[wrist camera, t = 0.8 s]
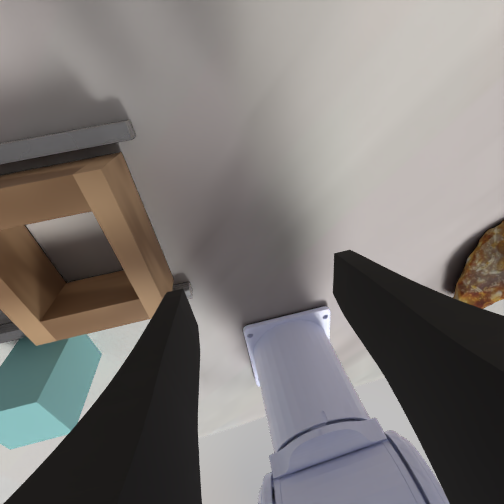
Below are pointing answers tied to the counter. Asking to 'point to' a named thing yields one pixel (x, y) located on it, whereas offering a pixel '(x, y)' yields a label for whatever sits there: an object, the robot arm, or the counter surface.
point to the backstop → (60, 144)
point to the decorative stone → (484, 271)
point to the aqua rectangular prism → (44, 389)
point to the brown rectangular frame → (44, 273)
